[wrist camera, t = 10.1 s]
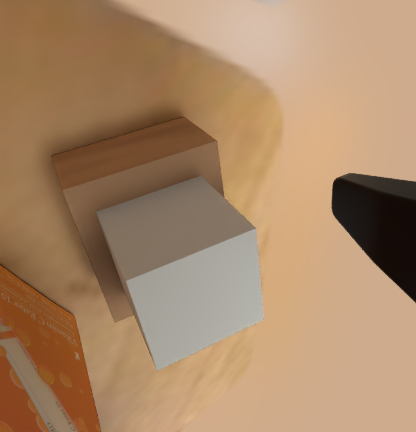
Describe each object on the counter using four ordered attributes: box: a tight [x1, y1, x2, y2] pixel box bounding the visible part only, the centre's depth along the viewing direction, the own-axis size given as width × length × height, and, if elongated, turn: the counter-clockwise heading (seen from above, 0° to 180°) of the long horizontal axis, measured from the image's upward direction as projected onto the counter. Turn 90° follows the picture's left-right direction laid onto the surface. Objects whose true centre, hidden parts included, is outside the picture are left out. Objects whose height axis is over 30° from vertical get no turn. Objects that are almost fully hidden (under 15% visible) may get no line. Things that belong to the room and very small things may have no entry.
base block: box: [51, 117, 224, 323], centre depth 21 cm, size 8×7×4 cm
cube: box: [96, 176, 264, 371], centre depth 17 cm, size 5×5×5 cm
